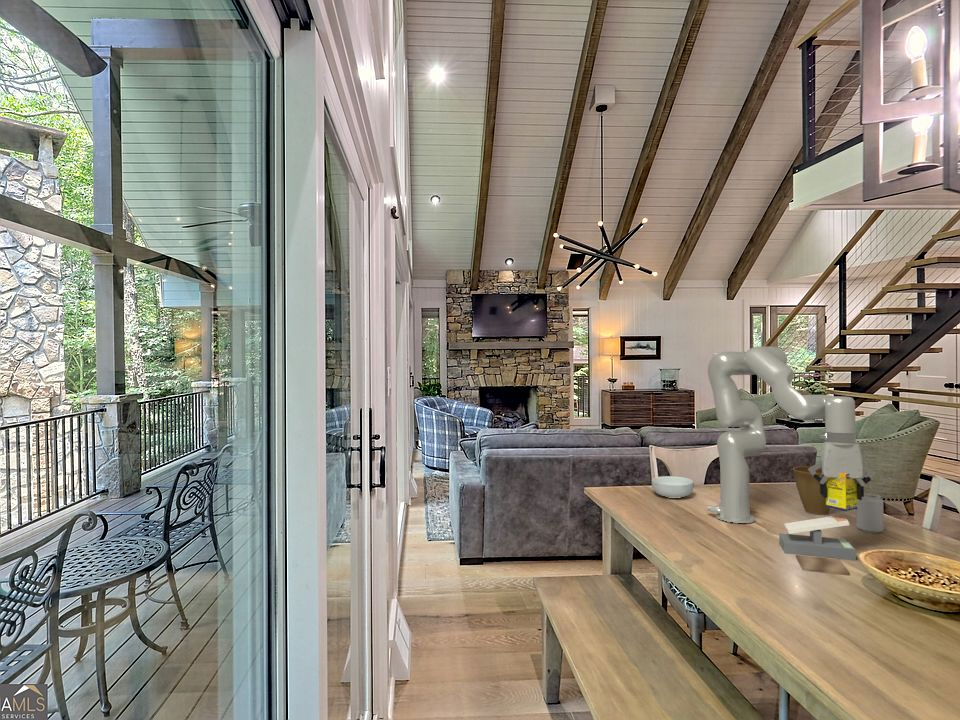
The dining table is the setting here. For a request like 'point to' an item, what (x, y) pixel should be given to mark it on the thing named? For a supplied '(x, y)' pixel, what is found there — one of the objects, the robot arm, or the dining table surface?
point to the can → (870, 514)
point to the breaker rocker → (816, 524)
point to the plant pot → (810, 491)
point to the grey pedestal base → (817, 545)
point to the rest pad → (822, 565)
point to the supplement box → (841, 493)
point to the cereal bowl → (672, 486)
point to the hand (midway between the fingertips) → (841, 497)
